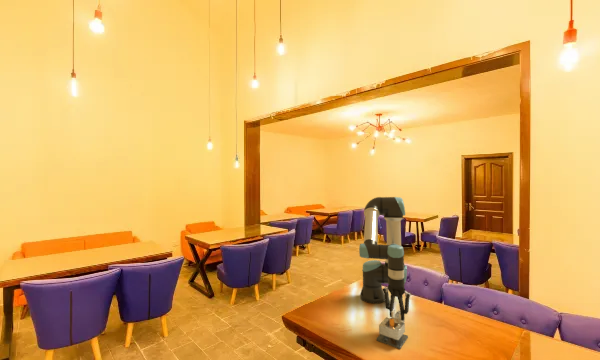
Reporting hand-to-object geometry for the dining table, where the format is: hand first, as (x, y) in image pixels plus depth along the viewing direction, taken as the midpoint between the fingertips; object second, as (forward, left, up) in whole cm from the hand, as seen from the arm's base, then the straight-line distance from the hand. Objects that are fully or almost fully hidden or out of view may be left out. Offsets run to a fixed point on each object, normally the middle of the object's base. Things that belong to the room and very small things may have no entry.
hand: (397, 325), depth 133 cm
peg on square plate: (+7, 0, -4) cm, 8 cm away
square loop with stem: (+3, 0, -1) cm, 3 cm away
